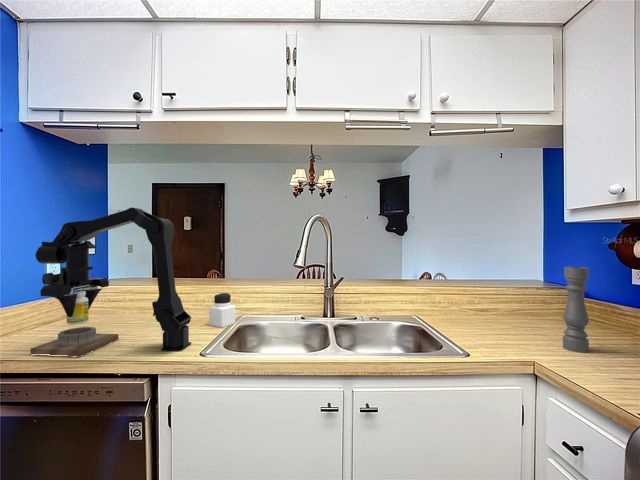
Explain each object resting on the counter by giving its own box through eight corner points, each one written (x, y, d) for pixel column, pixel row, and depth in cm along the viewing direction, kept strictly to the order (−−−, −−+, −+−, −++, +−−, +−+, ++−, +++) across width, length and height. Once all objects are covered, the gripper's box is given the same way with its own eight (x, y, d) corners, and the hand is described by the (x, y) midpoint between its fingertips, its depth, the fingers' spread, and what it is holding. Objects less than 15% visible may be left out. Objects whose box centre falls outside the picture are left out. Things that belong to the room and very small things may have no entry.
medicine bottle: (235, 323, 124) (235, 293, 124) (221, 328, 118) (221, 296, 117) (223, 321, 127) (223, 291, 127) (208, 325, 121) (208, 294, 121)
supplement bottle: (68, 321, 97) (68, 290, 97) (89, 319, 100) (89, 289, 100) (64, 326, 93) (64, 293, 93) (87, 323, 95) (87, 292, 95)
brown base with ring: (118, 340, 103) (118, 324, 103) (79, 357, 88) (79, 339, 88) (75, 338, 105) (75, 323, 105) (30, 355, 90) (30, 338, 90)
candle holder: (563, 344, 101) (563, 266, 100) (588, 348, 97) (589, 267, 97) (562, 349, 96) (563, 267, 96) (589, 354, 92) (589, 269, 92)
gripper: (78, 261, 106) (79, 307, 106) (21, 266, 88) (22, 322, 88) (109, 261, 105) (110, 307, 105) (58, 266, 87) (59, 323, 87)
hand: (77, 314), depth 96 cm, fingers closed on supplement bottle, 5 cm apart
